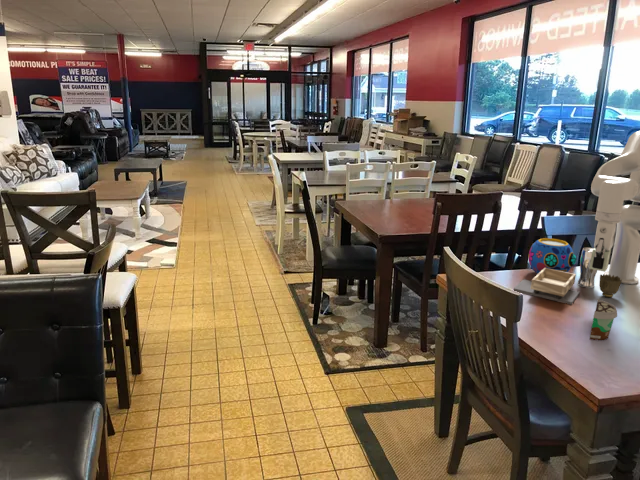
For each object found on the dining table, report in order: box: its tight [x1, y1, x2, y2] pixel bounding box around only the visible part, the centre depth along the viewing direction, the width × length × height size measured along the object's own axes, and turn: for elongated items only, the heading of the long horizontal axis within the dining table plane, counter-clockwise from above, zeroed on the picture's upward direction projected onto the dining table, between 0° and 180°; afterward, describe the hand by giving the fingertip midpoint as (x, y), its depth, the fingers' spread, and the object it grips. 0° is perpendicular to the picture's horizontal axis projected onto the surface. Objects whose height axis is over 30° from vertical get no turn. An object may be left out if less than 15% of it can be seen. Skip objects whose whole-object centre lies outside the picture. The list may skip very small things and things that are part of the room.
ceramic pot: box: [527, 237, 577, 275], centre depth 213 cm, size 18×18×15 cm
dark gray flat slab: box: [513, 279, 580, 306], centre depth 197 cm, size 13×21×1 cm, turn 53°
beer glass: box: [577, 247, 598, 289], centre depth 203 cm, size 7×7×15 cm
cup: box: [598, 274, 622, 299], centre depth 193 cm, size 8×7×8 cm
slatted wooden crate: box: [531, 268, 577, 299], centre depth 195 cm, size 18×12×6 cm, turn 143°
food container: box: [589, 299, 618, 342], centre depth 161 cm, size 12×6×10 cm, turn 148°
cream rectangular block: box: [589, 247, 612, 273], centre depth 179 cm, size 5×5×7 cm
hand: (598, 265), depth 180 cm, fingers closed on cream rectangular block, 5 cm apart
